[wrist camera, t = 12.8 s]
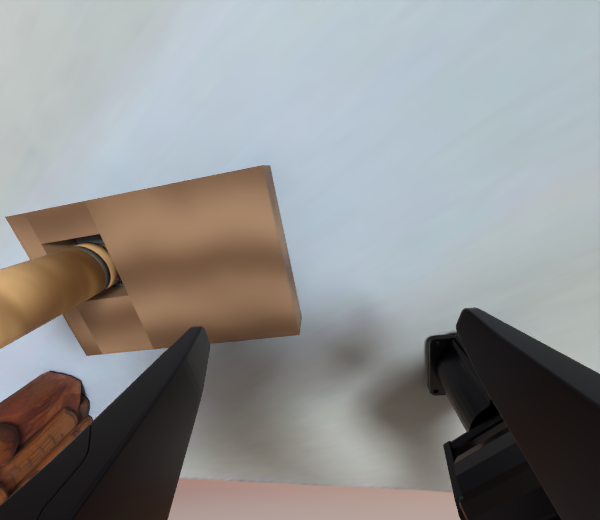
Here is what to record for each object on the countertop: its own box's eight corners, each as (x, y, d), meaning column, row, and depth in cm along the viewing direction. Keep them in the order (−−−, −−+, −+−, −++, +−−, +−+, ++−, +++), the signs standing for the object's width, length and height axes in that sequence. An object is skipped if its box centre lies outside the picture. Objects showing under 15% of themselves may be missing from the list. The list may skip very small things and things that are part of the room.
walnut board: (301, 317, 22) (299, 334, 20) (108, 338, 25) (86, 355, 23) (269, 165, 18) (262, 165, 16) (40, 211, 21) (5, 217, 18)
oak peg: (140, 276, 22) (-119, 432, 9) (101, 282, 23) (-194, 436, 10) (121, 234, 21) (-211, 344, 8) (81, 241, 22) (-292, 355, 8)
